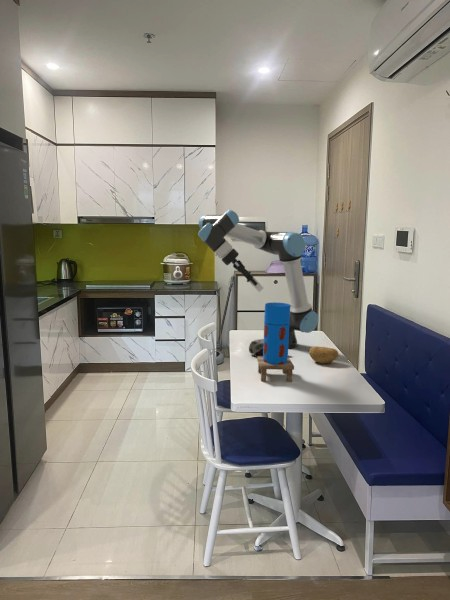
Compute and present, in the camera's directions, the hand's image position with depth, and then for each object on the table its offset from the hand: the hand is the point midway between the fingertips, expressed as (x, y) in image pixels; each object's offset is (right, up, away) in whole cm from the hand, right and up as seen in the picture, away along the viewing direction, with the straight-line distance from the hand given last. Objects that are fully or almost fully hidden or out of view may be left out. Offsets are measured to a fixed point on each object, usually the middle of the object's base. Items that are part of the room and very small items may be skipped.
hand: (259, 288), depth 194 cm
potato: (+32, -36, +18) cm, 52 cm away
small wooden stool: (+6, -39, -4) cm, 39 cm away
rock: (+6, -34, +29) cm, 45 cm away
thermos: (+6, -32, -5) cm, 33 cm away
